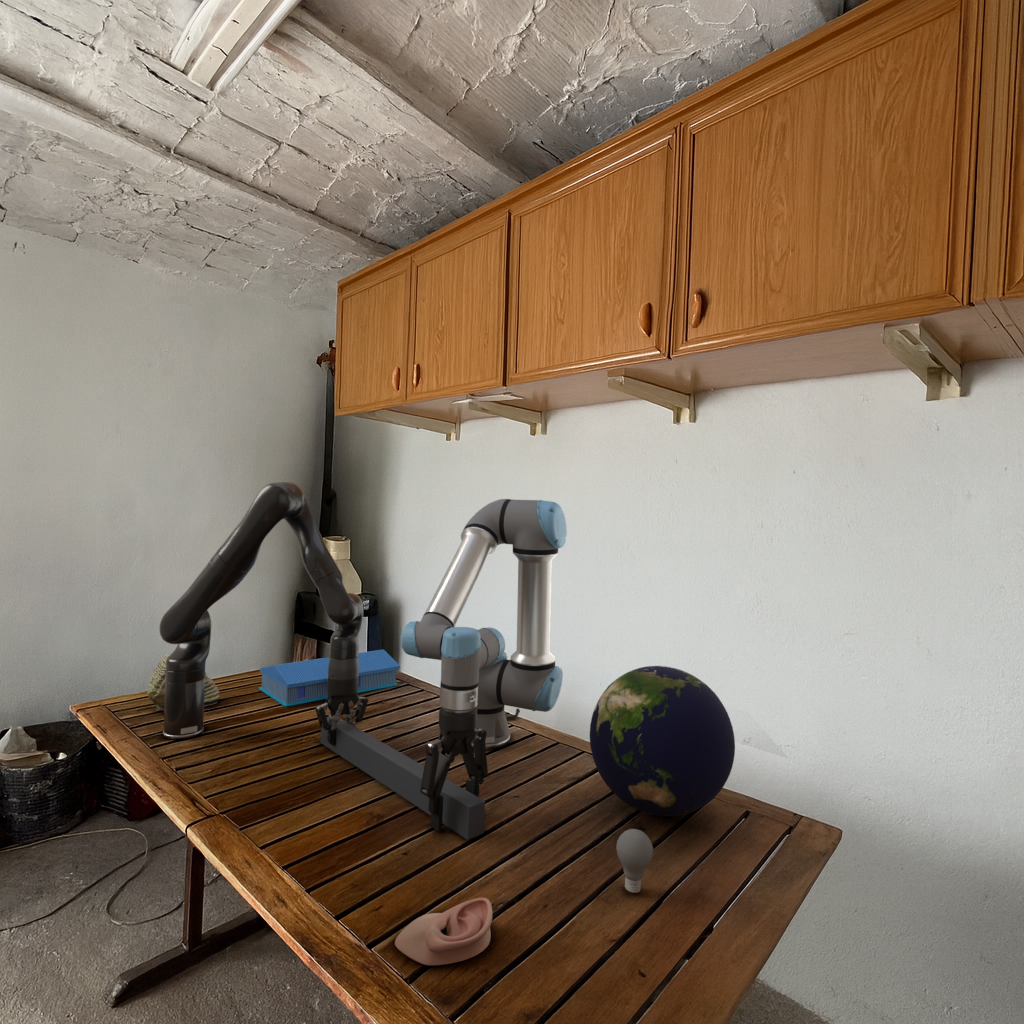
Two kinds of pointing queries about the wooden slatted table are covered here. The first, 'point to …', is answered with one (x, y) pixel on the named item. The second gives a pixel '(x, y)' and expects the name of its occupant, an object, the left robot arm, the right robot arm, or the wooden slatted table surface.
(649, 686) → the globe
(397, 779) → the beam
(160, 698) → the fossil
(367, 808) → the wooden slatted table surface
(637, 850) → the light bulb
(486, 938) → the anatomical model
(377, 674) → the model building
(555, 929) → the wooden slatted table surface
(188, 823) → the wooden slatted table surface
